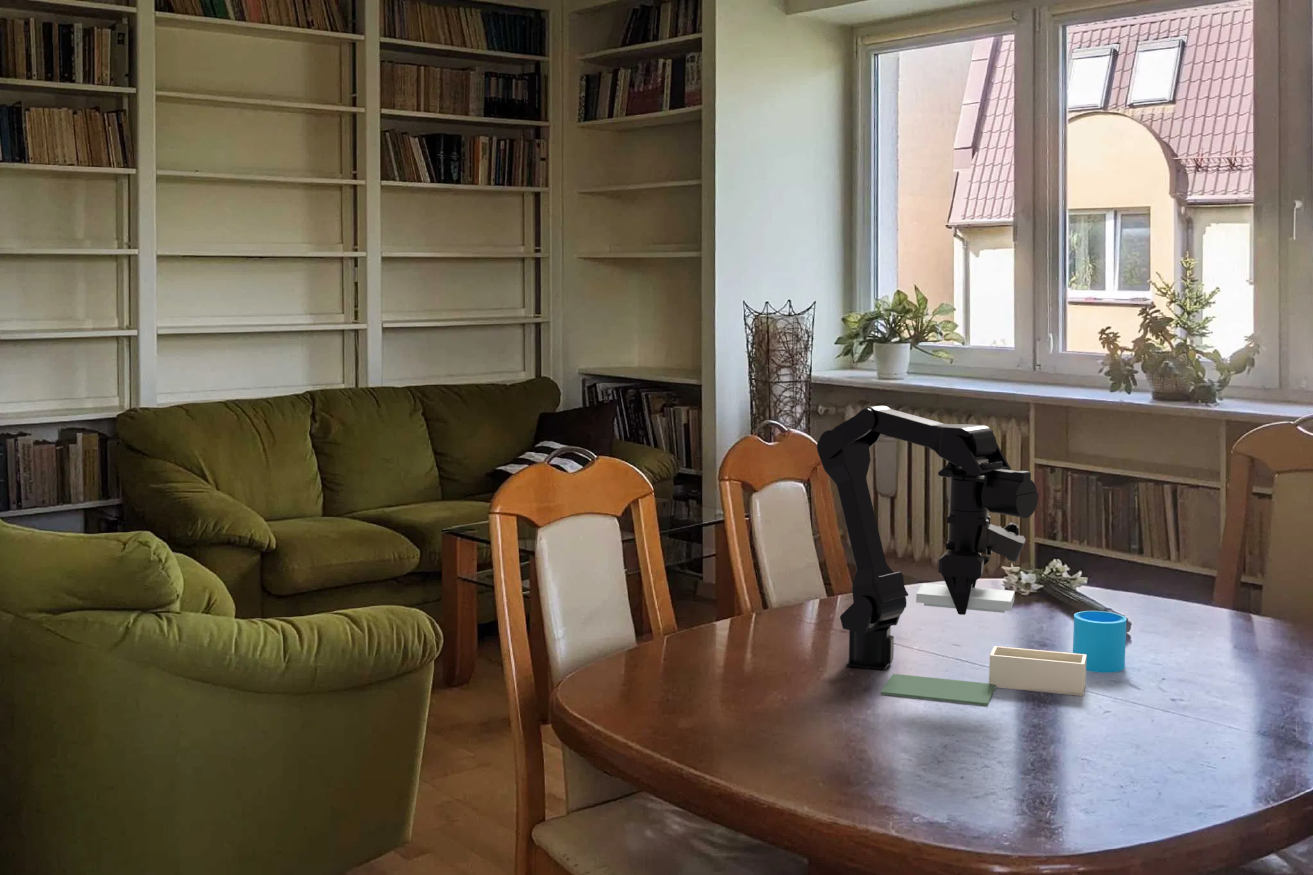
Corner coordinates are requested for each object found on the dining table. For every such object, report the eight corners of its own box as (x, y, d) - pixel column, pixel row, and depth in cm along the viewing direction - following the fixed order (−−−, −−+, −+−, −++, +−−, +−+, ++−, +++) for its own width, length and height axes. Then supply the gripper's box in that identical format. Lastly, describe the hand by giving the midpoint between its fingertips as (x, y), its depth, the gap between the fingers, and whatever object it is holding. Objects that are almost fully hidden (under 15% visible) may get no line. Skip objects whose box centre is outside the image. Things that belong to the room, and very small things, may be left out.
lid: (915, 607, 205) (916, 593, 205) (922, 596, 211) (922, 583, 211) (1010, 616, 200) (1010, 601, 200) (1014, 604, 207) (1014, 590, 206)
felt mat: (880, 694, 205) (880, 691, 205) (893, 676, 214) (893, 673, 214) (987, 705, 199) (987, 703, 199) (995, 686, 208) (995, 684, 208)
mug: (1111, 675, 214) (1113, 626, 213) (1063, 666, 220) (1065, 617, 219) (1142, 660, 223) (1144, 612, 222) (1095, 651, 228) (1097, 604, 227)
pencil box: (988, 686, 209) (989, 655, 208) (993, 676, 214) (994, 645, 213) (1083, 696, 204) (1084, 664, 203) (1085, 685, 209) (1086, 654, 208)
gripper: (1018, 523, 192) (1013, 629, 194) (1027, 501, 210) (1023, 599, 212) (939, 517, 196) (936, 621, 198) (955, 497, 214) (951, 592, 216)
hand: (964, 608), depth 206 cm, fingers closed on lid, 7 cm apart
